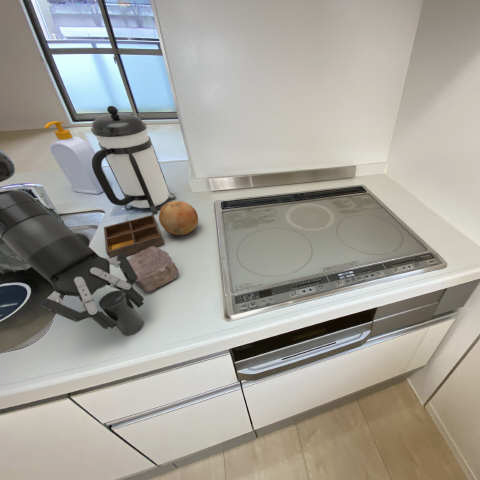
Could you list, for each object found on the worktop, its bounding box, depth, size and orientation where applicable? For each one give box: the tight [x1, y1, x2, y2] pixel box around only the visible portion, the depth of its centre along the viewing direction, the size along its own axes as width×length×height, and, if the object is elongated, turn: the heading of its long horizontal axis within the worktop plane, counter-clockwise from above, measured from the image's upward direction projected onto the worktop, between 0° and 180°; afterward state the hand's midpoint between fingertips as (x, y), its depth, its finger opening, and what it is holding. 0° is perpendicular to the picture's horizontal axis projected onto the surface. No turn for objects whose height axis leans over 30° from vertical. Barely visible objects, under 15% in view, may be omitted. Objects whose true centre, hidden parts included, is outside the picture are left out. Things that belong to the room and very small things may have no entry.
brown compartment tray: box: [103, 214, 166, 259], centre depth 72 cm, size 12×12×3 cm
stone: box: [127, 246, 179, 292], centre depth 62 cm, size 12×9×5 cm
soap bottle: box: [44, 120, 112, 195], centre depth 85 cm, size 9×7×23 cm
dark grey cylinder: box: [98, 289, 145, 337], centre depth 49 cm, size 4×4×9 cm
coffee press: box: [90, 105, 176, 215], centre depth 77 cm, size 17×16×30 cm
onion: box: [158, 200, 199, 236], centre depth 73 cm, size 10×10×10 cm
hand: (128, 315), depth 48 cm, fingers open, 4 cm apart
